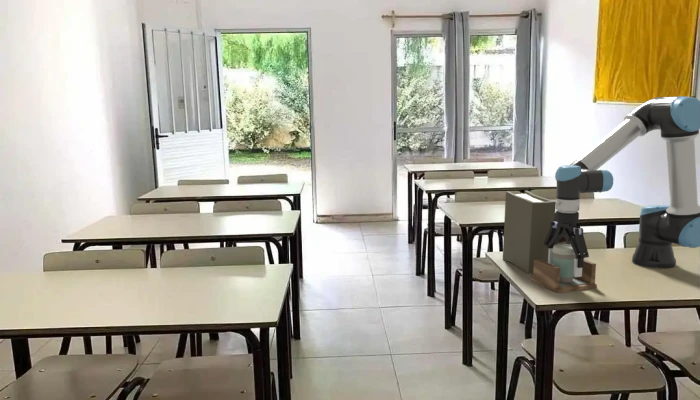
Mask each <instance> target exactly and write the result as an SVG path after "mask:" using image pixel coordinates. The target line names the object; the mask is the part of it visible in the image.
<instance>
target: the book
mask: <svg viewBox="0 0 700 400" xmlns="http://www.w3.org/2000/svg"><path fill="white" fill-rule="evenodd" d="M504 202H505V203H504V222H503V225H504V226H503V244H502V260H503V261H505V262H508V263H510V264H512V265H514V266H516V267H518V268H520V270H521V271H524V272H525V273H526V274H529V275H533V270H534V259H539V260H542V261H544V262H547V263H548V247H547V245H544V241H545V239H546V237H547V234H548V232H549V229H550V225H551V222H553V221H555V213H556V200H555V201H554V200H552V199H549V198H545V197H542V196H539V195H537V194H534V193H533V192H531V191H529V190H524V193H517V194H515V193H513V192H511V191H509V190H508V191H505V200H504Z"/></svg>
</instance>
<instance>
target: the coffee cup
mask: <svg viewBox="0 0 700 400" xmlns="http://www.w3.org/2000/svg"><path fill="white" fill-rule="evenodd" d="M552 252H553V262H554V266H557V267H559V268H560V280H559V282H564V283H569V282H572V281H573V275H574V259H575V257H576V255H575V253H574V250H573V248H572V246H571V244H570V245H568V244H557V245H554V247H553V249H552Z"/></svg>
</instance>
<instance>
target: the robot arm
mask: <svg viewBox="0 0 700 400" xmlns="http://www.w3.org/2000/svg"><path fill="white" fill-rule="evenodd" d="M657 130H660V138H661V139H663V140H664V141H665V143H666V155H667V156H666V159H667V172H668V173H667V174H668V189H669V190H668V191H669V203H670V205H668V204H667V205H664V204H662V205H660V204H659V205H658V204H656V205H655V204H654V205H645V206H642V208H641V209H640V215H639V225H638V226H639V227H638V231H639V232H638V242H637V245H636V247H635V251H634V252H633V254H632V258H631V262H632V263H633V264H635V265H637V266H639V267H645V268H650V269H661V270H662V269H666V270H667V269H673V268H675V267H676V265H677V259H676V258H675V253H674V248H673V244H675V245H679V246H681V247H685V248H691V249H695V248H699V247H700V205H699V203H698V202H699V200H698V184H697V183H698V182H697V167H696V166H697V165H696V163H697V162H696V149H695V145H696V144H695V139H696V137H698V135H699V134H700V100H699V99H698V98H696V97H694V96H693V97H692V96H685V95H683V96H678V95H677V96H659V97H653V98H651V99H649V100H647V101H645V102H643V103H642V104H640V105H638V106H637V107H635V108H634V109H633V110H632V111H630V112H629V113H628V114H627V115H625V116H624V119H623V121H622V122H621V123H620V124H619V125H617V126H616V127H615V128H614V129H613V130H611V131H610V132H608V134H606V135H605V136H603V138H602V139H600V140H599V141H598V142H596V143H595V144H593V146H592V147H590V148H589V149H588V150H587V151H585V152H584V153H583V154H582V155H580V156H579V157H578V158H577V159H575V160H574V161H573V162H572V163H570V164H568V165H567V164H566V165H565V164H564V165H560V166H559V167H558V168H557V170H556V171H555V174H554V175H555V176H554V178H555V181H556V195H555V196H556V197H555V198H556V199H555V202H556V206H555V221H553V222H551V225H550V229H549V232H548V234H547V237H546V239H545V241H544V245H547V247H548V263H549V264H552V265H554V262H553V252H552V249H553V247H554V245H556V244H557V243H558V242H559V241H560V239H561V238H562V237H564V238H566V239H567V240H568V241H570V245H571V246H572V248H573V250H574V253H575V255H576V257H575V259H574V277H581V276H582V268H583V261H584V260H585V258H587V259H588V258H589V256H590V255H589V251H588V247H587V244H586V239H585V236H584V228H583V227H578V228H577V224H578V223H579V222H580V220H579V219H580V213H579V211H580V203H581V202H580V200H581V194H585V193H586V194H589V193H604V192H609V191H610V190H611V189H613V186H614V176H613V173H611V172H610V171H609V170H606V169H600V168H601V167H603V166H604V165H605V164H606V163H608V162H609V161H610V160H611V159H612V158H613V157H615V156H616V155H617V154H619V153H620V152H621V151H622V150H624V149H625V148H626V147H628V146H629V144H631V143H632V142H634V140H636V139H637V138H638V137H643V136H646V134H648V133H649V132H652V131H657Z"/></svg>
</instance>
